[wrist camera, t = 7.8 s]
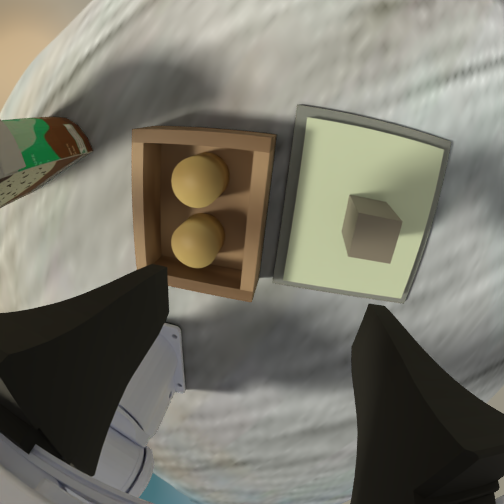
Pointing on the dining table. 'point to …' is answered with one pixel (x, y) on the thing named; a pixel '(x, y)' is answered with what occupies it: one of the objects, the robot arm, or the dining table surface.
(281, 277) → the mat
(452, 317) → the dining table surface
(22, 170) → the food container
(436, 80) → the dining table surface
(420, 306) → the dining table surface
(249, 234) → the box
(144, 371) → the robot arm
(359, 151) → the lid
